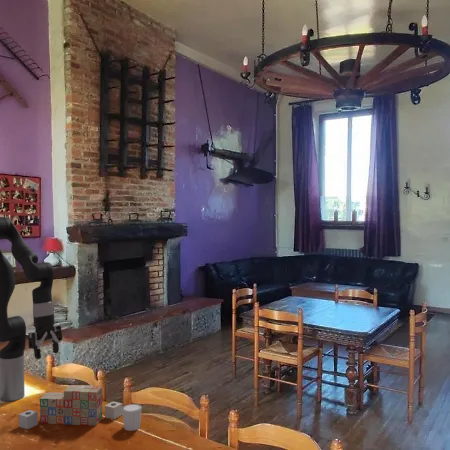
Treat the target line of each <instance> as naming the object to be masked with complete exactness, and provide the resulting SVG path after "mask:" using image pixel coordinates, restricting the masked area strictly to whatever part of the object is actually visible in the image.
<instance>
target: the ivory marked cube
mask: <svg viewBox="0 0 450 450" xmlns="http://www.w3.org/2000/svg"><path fill="white" fill-rule="evenodd" d="M122 408H123V403H122V402H117V401H111V402H109V403H108V404H105V405H104V418H105V417H106V419H109V418H111V419H110V420H113V419H115V420H116V418H117V417H118V418H120V417H122V416H123V412H122ZM121 415H122V416H121ZM119 416H120V417H119ZM118 418H117V419H118Z"/></svg>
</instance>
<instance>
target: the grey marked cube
mask: <svg viewBox="0 0 450 450" xmlns="http://www.w3.org/2000/svg"><path fill="white" fill-rule="evenodd" d="M38 425H39V411H35V410H32V409H28V410H26V411H24V412H21V413H19V414H18V427H19V428H21V429H22V428H23V429H26V430H29V429H31V428H34V427H35V426H38Z"/></svg>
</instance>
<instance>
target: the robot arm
mask: <svg viewBox="0 0 450 450" xmlns="http://www.w3.org/2000/svg"><path fill="white" fill-rule="evenodd" d="M0 240H7V241H8V242H10V243H11V250H10V251H11V255H12V256H13V258H14V259H15V260H16V262H18V264H19V265H20V266H21V269H22V271H23V273H24V275H25V277H26V279H27V280H28V281H30V282H33V283H35V282H40V284H39V286H38V287H35V288H33V289H32V291H31V297H32V315H33V317H32V318H33V327H34V328H35V331H34V332H28V333H27V325H26V321H25V320H24V318H23V317H22V316H20V315H16V316H10V317H8V307H9V302H10V299H11V297H12V295H13V293H14V290H15V288H16V287H15V286H16V279H15V278H16V277H15V276H16V275H15V270H14V267H13V265H12V264H11V262H10V261H9V260H8V259H7V258H6V256H5V255H4V253H3V252H2V251H1V249H0V343H6V342H8V343H7V344H6V345H4V346H3V348H1V349H0V401H2V402H12V401H14V402H15V401H18V400H21V399H23V398H24V397H25V349H26V338H27V337H28V340H27V341H28V349H29V350H31V349H32V350H33V353H34V354H33V355H34V356H33V357H34V359H36V360H41V358H42V357H41V356H42V354H41V346H42V345H43V344H44V342H45V341H48V340H50V341H51V343H52V344H51V345H52V352H53V354H58V353H59V350H60V347H59V342H61V341H62V340H63V334H62V332H63V331H62V326H61V325H56V323H55V312H54V311H55V310H54V304H53V296H52V289H53V284H54V280H55V268H54V266H53V264H52V263H50V262H48V261H45V262H39V257H38V255H37V254H36V252H35V251H33V250H32V248H31V247H30V245H28V244H27V243H26V242H25V240H24V238H23V237H22V235H21V233H20V232H19V230H18V228H17V227H16V226H15V224H14V223H13V221H12V220H11V219H10V218H8V217H5V216H0ZM27 335H28V336H27Z"/></svg>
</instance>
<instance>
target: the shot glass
mask: <svg viewBox="0 0 450 450" xmlns="http://www.w3.org/2000/svg"><path fill="white" fill-rule="evenodd" d="M142 409H143V407H142V405H141V404H138V403H131V404H126V405H124V406H122V420H123V429H124V430H126V431H128V432H129V431H137V430H139V429H141V420H142Z"/></svg>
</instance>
